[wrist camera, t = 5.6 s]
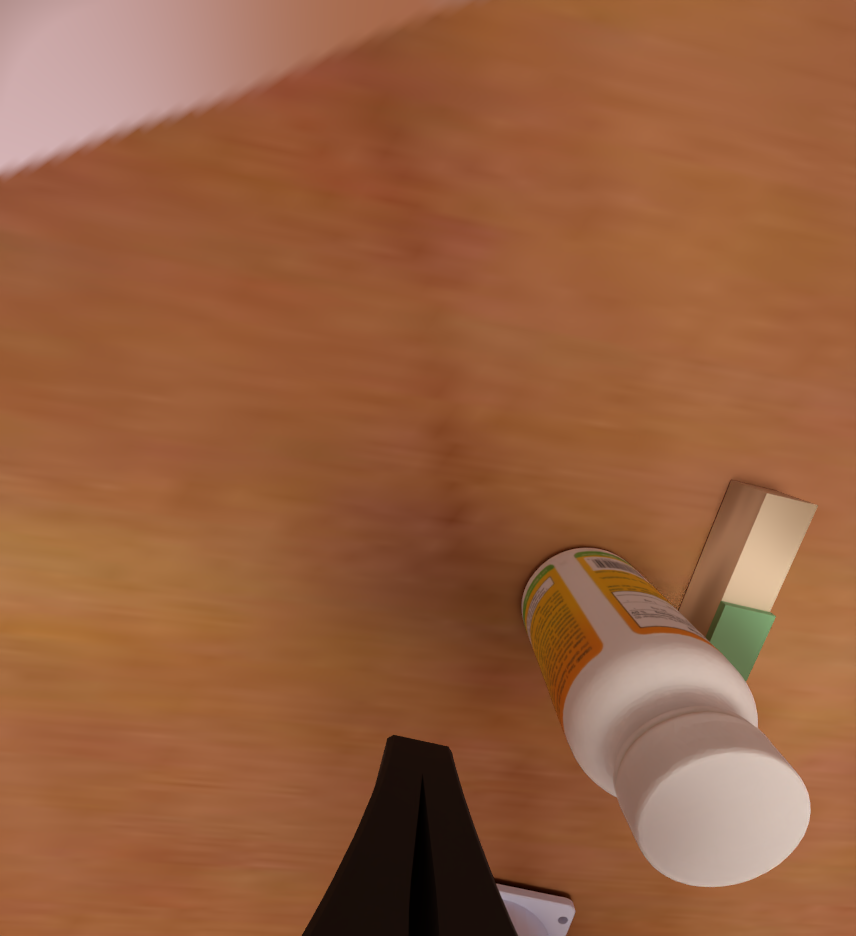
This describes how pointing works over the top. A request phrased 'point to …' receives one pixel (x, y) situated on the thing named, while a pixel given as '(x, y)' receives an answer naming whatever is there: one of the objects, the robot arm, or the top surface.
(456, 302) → the top surface
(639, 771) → the supplement bottle
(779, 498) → the stop rail
